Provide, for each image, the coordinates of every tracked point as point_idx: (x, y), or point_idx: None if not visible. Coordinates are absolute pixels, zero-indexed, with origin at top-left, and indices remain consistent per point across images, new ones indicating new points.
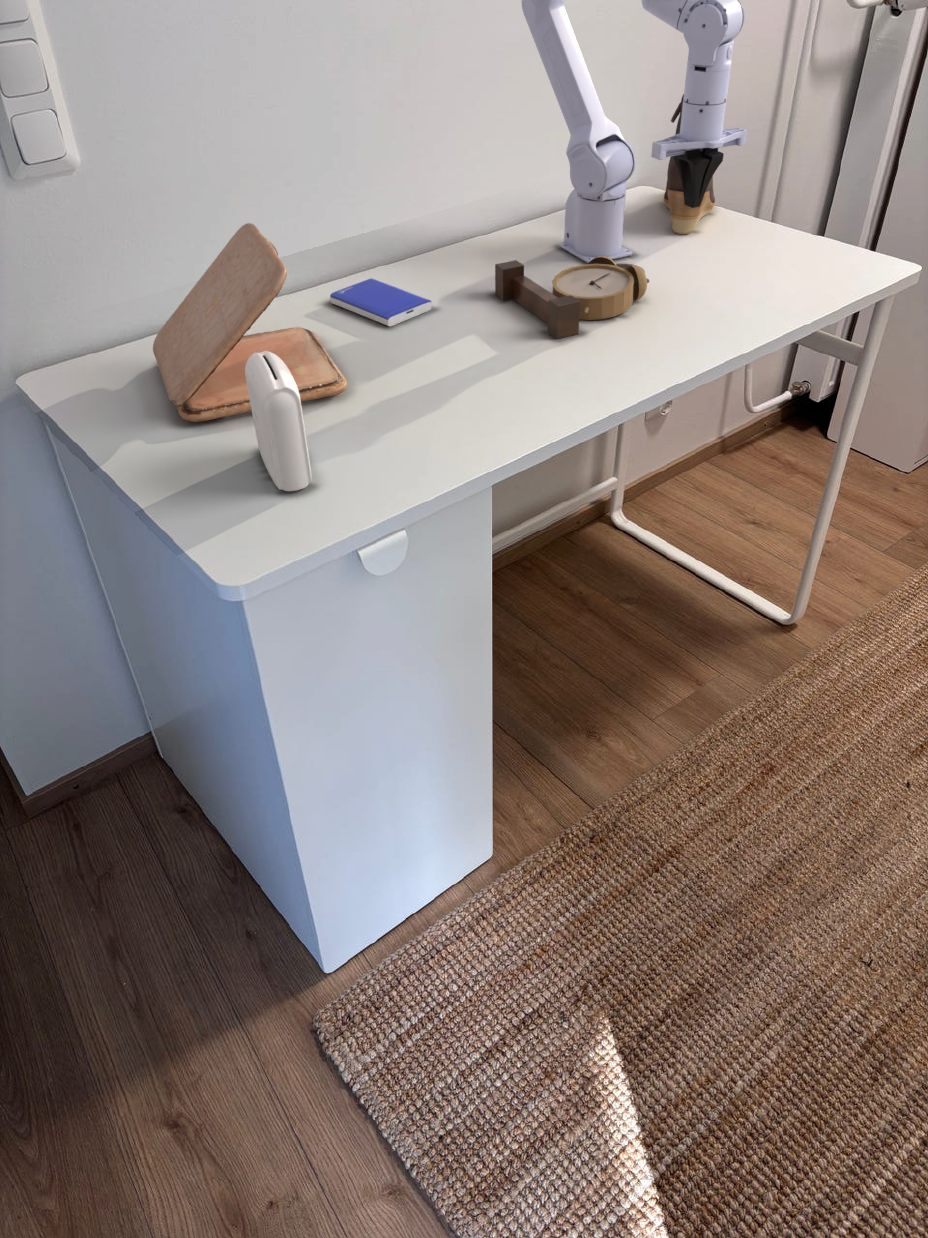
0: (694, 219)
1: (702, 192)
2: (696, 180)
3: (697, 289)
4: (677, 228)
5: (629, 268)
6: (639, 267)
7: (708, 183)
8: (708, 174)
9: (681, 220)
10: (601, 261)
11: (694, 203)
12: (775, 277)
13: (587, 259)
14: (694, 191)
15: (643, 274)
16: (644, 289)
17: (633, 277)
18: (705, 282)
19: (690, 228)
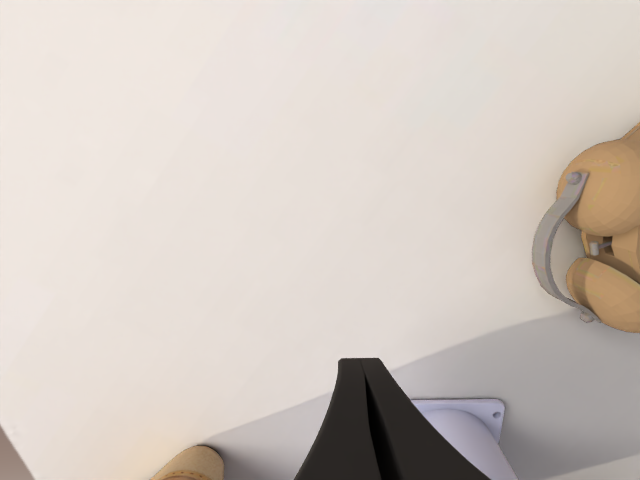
0: (179, 469)
1: (356, 391)
2: (443, 448)
3: (390, 159)
4: (220, 464)
5: (617, 230)
6: (638, 189)
7: (329, 423)
8: (355, 469)
9: (211, 477)
10: (614, 323)
11: (382, 365)
12: (158, 126)
13: (501, 414)
14: (412, 403)
15: (635, 159)
16: (606, 142)
17: (576, 224)
18: (343, 189)
19: (193, 452)
